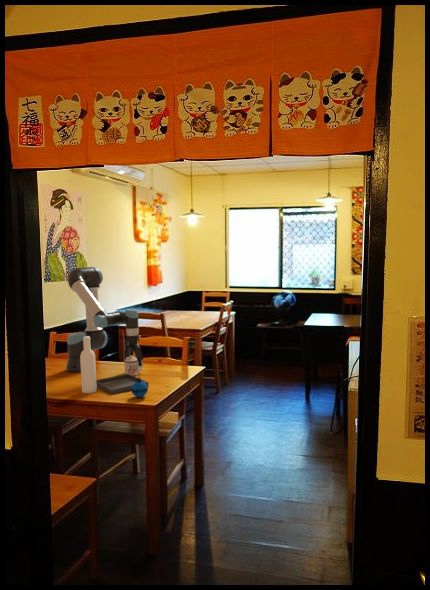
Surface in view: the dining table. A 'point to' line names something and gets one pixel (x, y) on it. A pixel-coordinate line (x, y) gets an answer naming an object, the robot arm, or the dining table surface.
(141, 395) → the ornament
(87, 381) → the bottle
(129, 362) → the teacup with lid
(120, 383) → the serving tray
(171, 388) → the dining table surface
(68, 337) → the robot arm
